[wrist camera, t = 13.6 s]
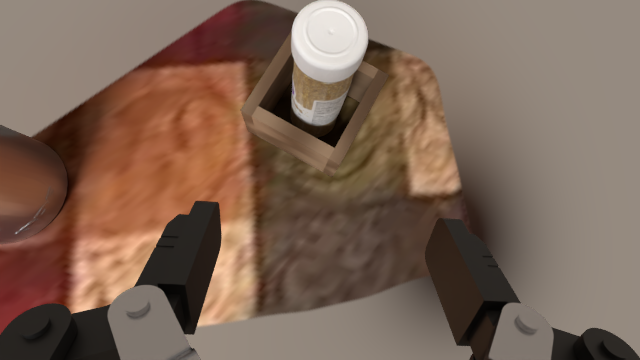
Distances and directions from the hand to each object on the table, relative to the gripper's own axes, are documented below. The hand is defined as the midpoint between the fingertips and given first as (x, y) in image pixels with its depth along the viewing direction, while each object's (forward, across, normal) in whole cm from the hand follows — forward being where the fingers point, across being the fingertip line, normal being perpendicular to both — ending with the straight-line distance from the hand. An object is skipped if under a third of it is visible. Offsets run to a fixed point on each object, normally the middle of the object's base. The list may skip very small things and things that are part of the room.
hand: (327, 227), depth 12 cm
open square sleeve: (+21, 0, +5) cm, 22 cm away
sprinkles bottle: (+21, 0, +5) cm, 22 cm away
